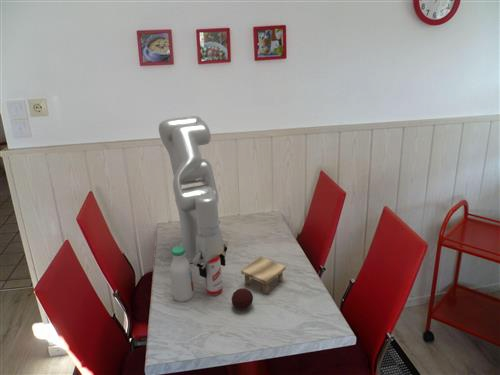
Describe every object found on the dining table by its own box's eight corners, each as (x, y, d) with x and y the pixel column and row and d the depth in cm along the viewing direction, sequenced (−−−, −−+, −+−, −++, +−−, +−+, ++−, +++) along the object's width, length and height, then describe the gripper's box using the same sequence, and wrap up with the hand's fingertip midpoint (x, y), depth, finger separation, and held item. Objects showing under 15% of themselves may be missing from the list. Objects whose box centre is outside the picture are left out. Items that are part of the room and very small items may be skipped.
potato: (257, 307, 144) (256, 290, 142) (240, 317, 140) (239, 300, 137) (244, 297, 150) (243, 281, 147) (227, 306, 145) (226, 290, 143)
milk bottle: (190, 303, 148) (184, 255, 140) (170, 301, 150) (163, 253, 142) (197, 290, 155) (191, 244, 147) (177, 288, 157) (171, 242, 149)
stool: (241, 284, 157) (241, 270, 155) (261, 270, 166) (260, 256, 163) (266, 296, 150) (266, 281, 147) (285, 280, 158) (285, 266, 156)
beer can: (226, 289, 155) (223, 252, 149) (216, 298, 150) (213, 260, 144) (212, 284, 158) (209, 248, 152) (202, 293, 153) (198, 256, 147)
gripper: (218, 217, 153) (221, 257, 159) (183, 235, 141) (188, 278, 147) (233, 222, 148) (236, 263, 154) (198, 241, 136) (203, 285, 142)
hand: (212, 270), depth 150 cm, fingers open, 9 cm apart
